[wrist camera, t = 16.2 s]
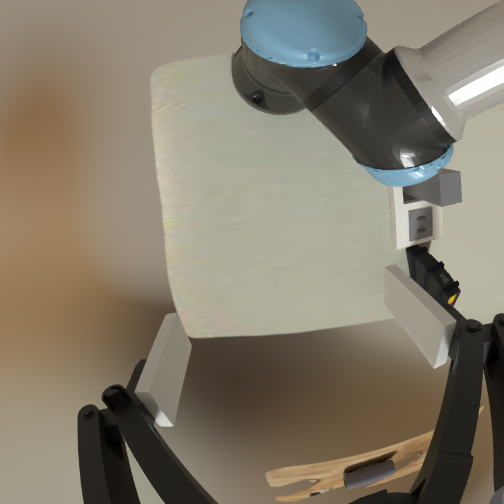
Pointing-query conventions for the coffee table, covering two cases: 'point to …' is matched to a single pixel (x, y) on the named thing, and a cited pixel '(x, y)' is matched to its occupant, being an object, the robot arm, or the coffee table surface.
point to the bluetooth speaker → (369, 474)
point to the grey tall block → (438, 188)
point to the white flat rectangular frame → (413, 220)
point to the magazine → (431, 274)
